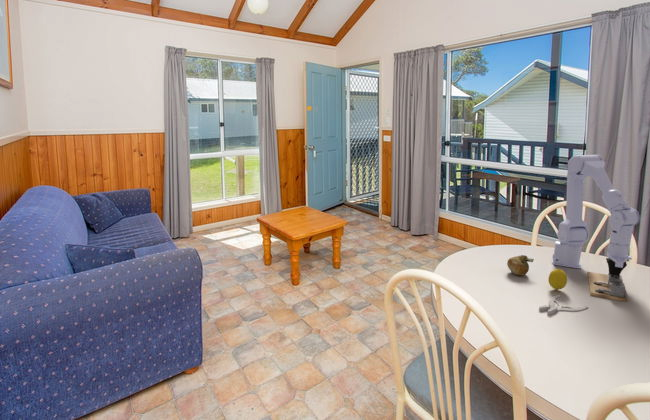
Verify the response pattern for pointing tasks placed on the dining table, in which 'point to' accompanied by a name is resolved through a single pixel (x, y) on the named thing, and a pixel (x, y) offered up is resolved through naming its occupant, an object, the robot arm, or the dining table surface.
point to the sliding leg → (611, 279)
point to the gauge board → (601, 286)
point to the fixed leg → (615, 289)
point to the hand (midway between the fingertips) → (613, 279)
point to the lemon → (557, 279)
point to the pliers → (553, 307)
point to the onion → (519, 264)
